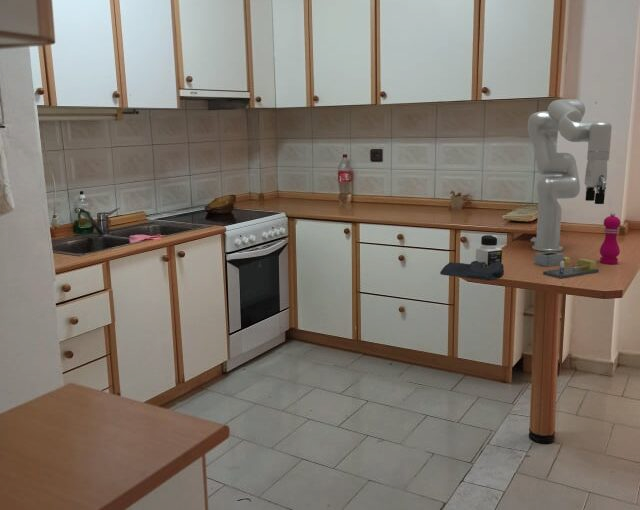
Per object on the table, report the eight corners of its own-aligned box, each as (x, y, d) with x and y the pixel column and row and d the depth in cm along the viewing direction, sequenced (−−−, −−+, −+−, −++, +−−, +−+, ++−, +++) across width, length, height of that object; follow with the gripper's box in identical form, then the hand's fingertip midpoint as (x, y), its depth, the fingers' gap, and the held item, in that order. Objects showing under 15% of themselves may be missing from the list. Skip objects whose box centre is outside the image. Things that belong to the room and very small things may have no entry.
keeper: (543, 274, 235) (543, 260, 234) (580, 267, 244) (581, 255, 243) (560, 278, 228) (561, 264, 227) (598, 272, 237) (599, 258, 236)
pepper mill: (620, 264, 249) (625, 213, 245) (600, 264, 250) (605, 213, 246) (616, 260, 256) (620, 211, 251) (596, 260, 257) (600, 210, 253)
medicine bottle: (487, 269, 244) (488, 238, 241) (474, 265, 250) (476, 235, 247) (501, 267, 247) (503, 236, 244) (488, 263, 253) (490, 233, 251)
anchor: (552, 261, 256) (553, 254, 256) (558, 260, 258) (558, 253, 257) (564, 263, 251) (565, 257, 251) (570, 263, 253) (570, 256, 252)
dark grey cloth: (450, 267, 249) (450, 255, 248) (507, 273, 238) (508, 261, 237) (436, 275, 236) (437, 263, 235) (496, 282, 225) (497, 269, 224)
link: (534, 263, 252) (535, 253, 251) (551, 261, 256) (551, 251, 255) (546, 266, 247) (547, 256, 246) (563, 264, 251) (563, 254, 250)
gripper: (579, 155, 246) (576, 199, 250) (596, 157, 230) (592, 205, 233) (599, 154, 246) (596, 199, 250) (617, 157, 229) (613, 205, 233)
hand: (594, 202), depth 241 cm, fingers open, 9 cm apart
